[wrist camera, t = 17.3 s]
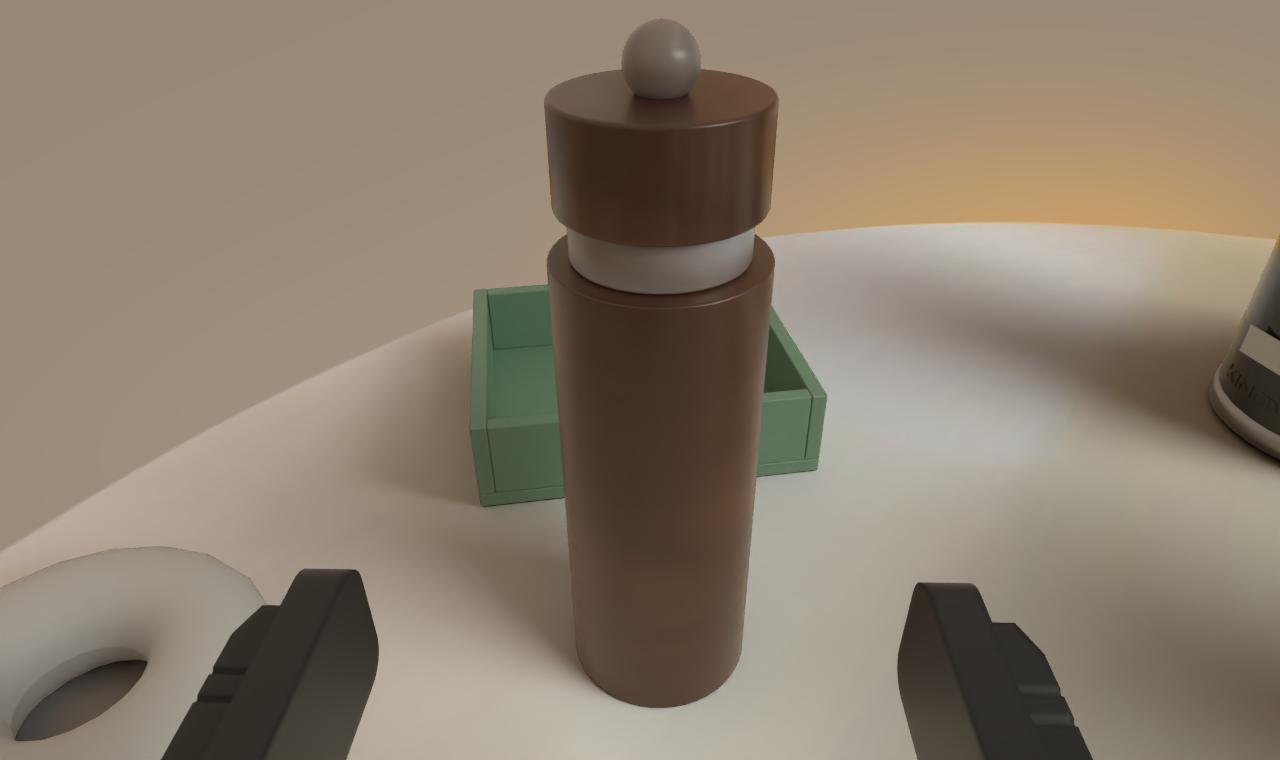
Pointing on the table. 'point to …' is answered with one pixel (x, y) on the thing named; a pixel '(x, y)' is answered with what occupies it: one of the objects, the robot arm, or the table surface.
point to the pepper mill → (660, 357)
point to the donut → (116, 644)
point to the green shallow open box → (528, 410)
